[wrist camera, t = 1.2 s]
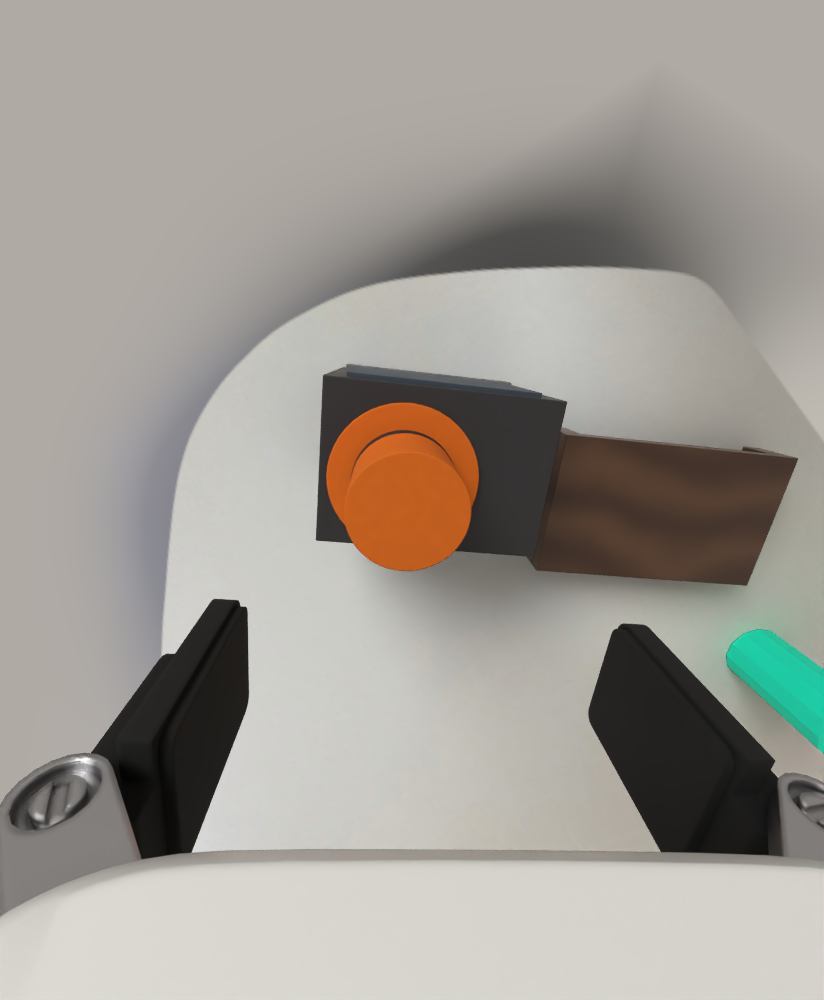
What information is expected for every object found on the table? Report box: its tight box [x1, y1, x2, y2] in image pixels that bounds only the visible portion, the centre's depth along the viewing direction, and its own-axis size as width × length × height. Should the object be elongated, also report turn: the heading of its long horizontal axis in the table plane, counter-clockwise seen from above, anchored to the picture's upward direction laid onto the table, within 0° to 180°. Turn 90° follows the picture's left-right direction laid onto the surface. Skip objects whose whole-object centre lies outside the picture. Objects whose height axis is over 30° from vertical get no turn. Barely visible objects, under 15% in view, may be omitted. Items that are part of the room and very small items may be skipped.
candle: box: [726, 629, 824, 754], centre depth 42 cm, size 6×6×12 cm
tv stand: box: [527, 428, 798, 586], centre depth 39 cm, size 12×20×4 cm, turn 84°
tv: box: [316, 364, 567, 557], centre depth 32 cm, size 10×14×12 cm
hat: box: [326, 403, 479, 571], centre depth 23 cm, size 9×9×6 cm
